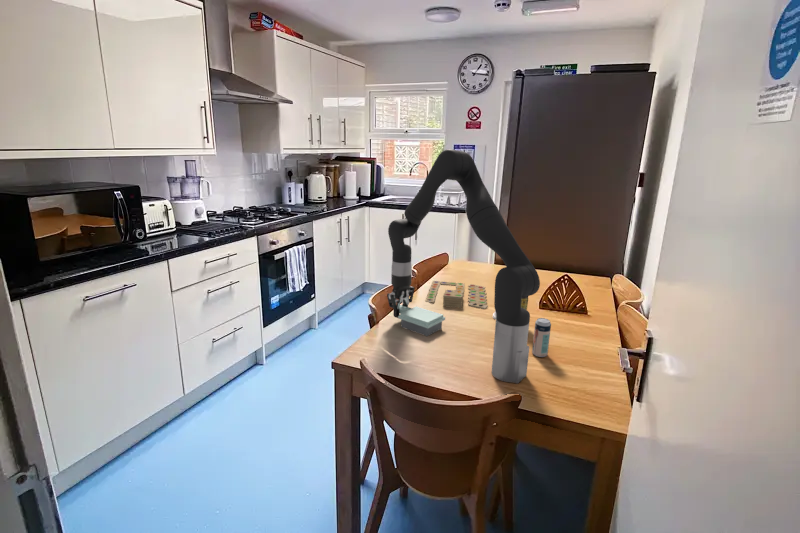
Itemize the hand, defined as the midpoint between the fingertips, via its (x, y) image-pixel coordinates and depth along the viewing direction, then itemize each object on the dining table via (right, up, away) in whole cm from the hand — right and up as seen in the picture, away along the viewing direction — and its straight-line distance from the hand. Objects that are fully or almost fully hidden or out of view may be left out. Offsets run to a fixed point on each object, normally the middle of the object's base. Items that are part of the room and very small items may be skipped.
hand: (400, 315), depth 159 cm
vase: (+41, -2, +7) cm, 41 cm away
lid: (+6, 0, -5) cm, 8 cm away
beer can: (+45, -10, -24) cm, 52 cm away
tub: (+8, -4, -6) cm, 10 cm away
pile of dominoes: (+26, +5, +34) cm, 43 cm away
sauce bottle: (+44, -4, -1) cm, 44 cm away
